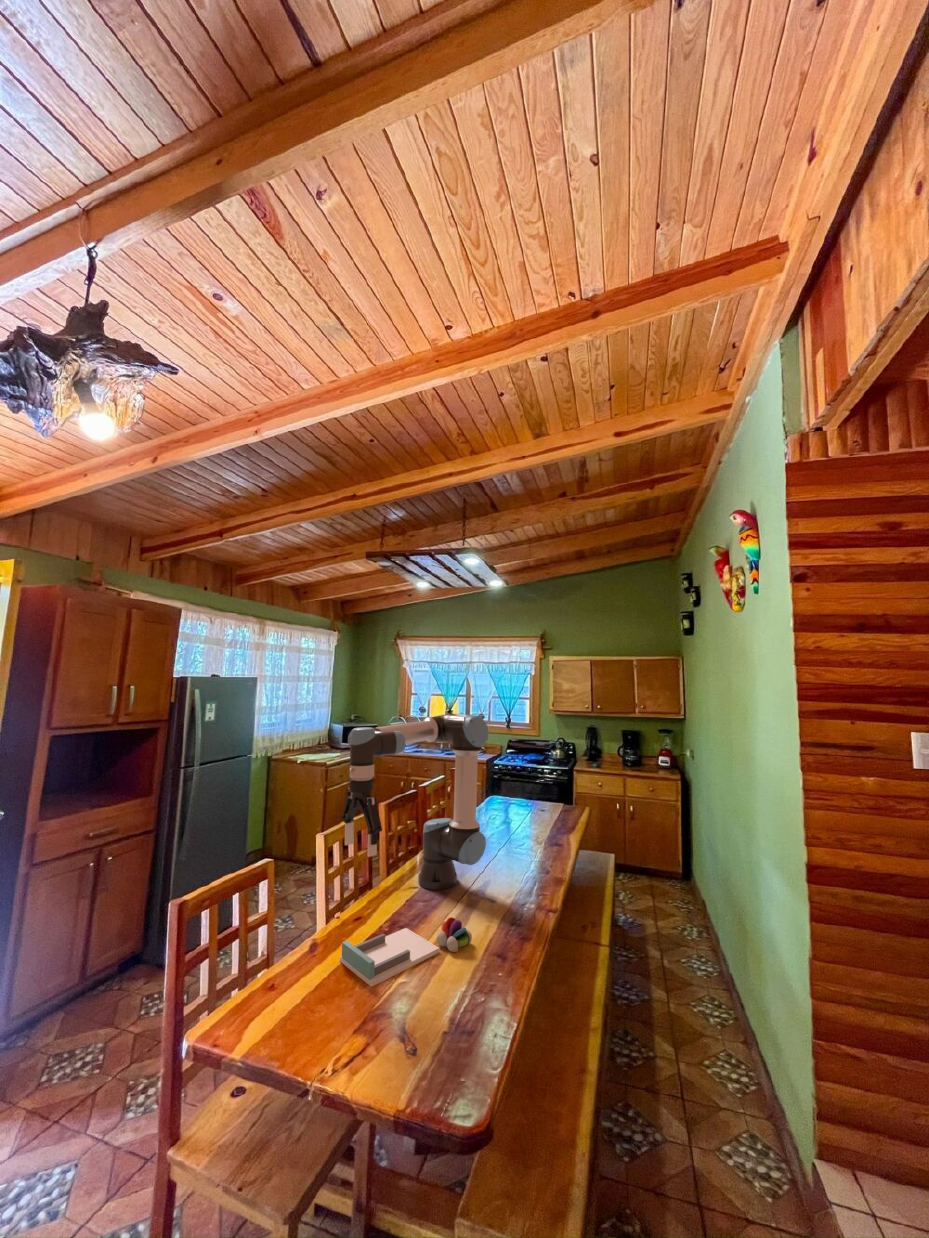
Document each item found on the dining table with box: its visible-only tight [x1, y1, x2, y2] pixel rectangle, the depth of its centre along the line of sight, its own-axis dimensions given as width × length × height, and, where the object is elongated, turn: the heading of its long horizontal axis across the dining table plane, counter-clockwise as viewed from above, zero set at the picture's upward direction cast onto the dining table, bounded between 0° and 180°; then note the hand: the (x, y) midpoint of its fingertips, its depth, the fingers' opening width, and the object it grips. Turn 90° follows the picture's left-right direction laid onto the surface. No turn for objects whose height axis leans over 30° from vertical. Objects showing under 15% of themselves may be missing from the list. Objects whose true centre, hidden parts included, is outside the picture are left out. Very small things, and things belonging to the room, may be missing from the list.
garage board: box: [339, 927, 440, 988], centre depth 138 cm, size 23×16×5 cm
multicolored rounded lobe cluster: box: [436, 916, 473, 953], centre depth 144 cm, size 8×10×7 cm
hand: (360, 849), depth 149 cm, fingers open, 13 cm apart
